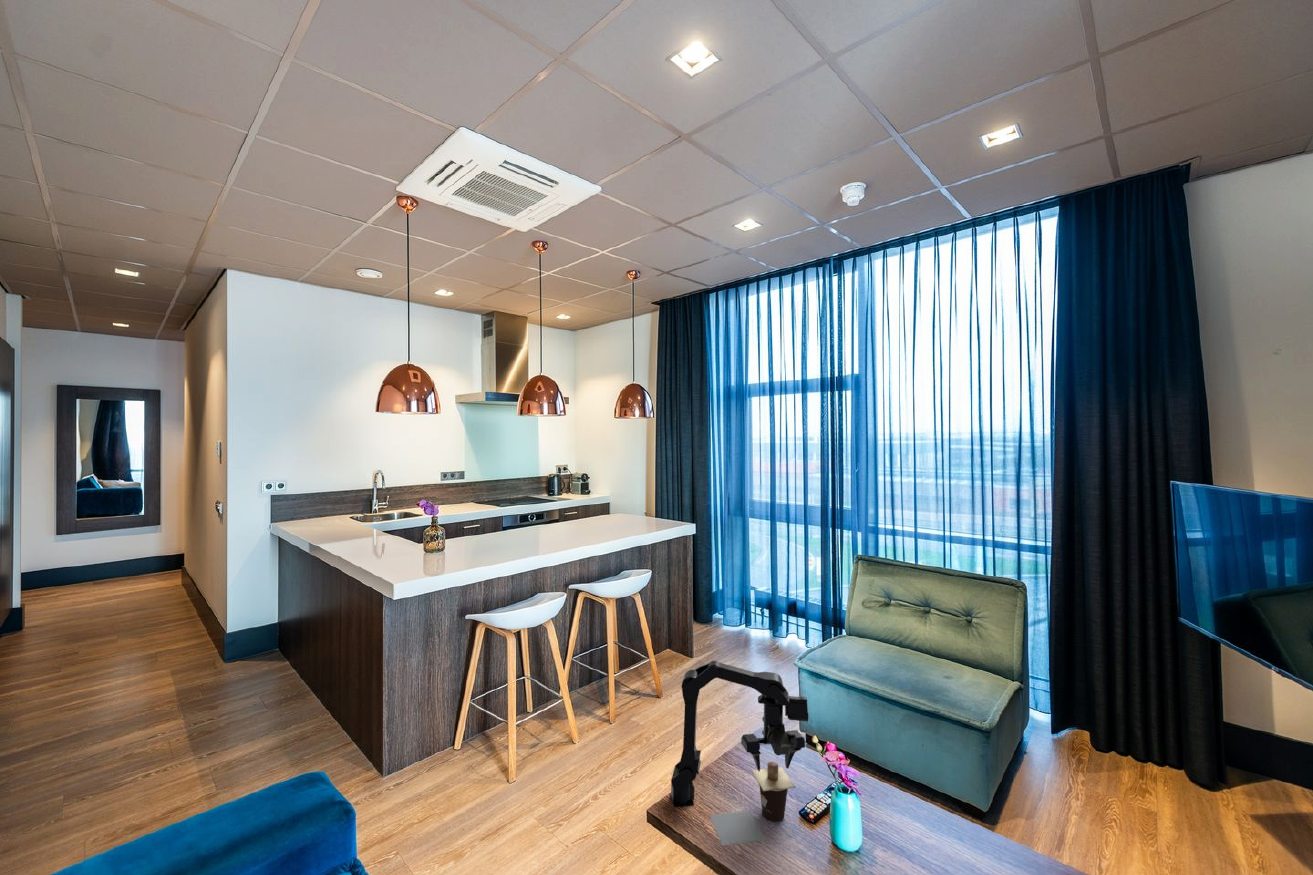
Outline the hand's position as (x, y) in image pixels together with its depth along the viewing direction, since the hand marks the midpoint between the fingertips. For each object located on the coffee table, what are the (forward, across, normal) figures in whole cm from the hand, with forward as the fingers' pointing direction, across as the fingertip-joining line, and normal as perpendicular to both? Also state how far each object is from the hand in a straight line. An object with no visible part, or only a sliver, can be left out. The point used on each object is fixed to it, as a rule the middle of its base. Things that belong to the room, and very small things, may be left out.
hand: (772, 769), depth 168 cm
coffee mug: (+13, 0, 0) cm, 13 cm away
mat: (+13, -13, -5) cm, 19 cm away
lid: (+3, 0, 0) cm, 3 cm away
